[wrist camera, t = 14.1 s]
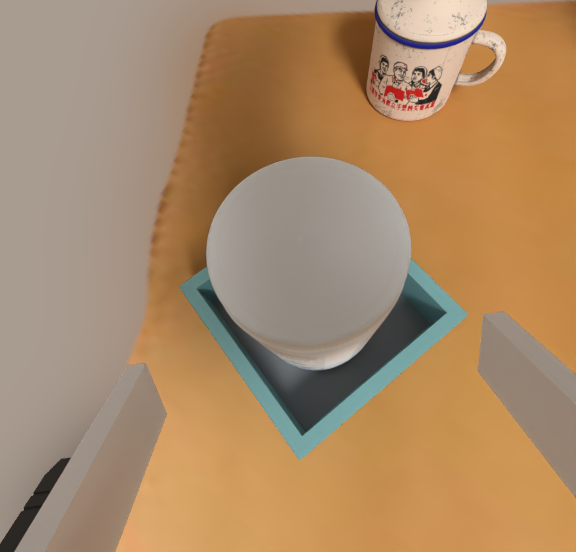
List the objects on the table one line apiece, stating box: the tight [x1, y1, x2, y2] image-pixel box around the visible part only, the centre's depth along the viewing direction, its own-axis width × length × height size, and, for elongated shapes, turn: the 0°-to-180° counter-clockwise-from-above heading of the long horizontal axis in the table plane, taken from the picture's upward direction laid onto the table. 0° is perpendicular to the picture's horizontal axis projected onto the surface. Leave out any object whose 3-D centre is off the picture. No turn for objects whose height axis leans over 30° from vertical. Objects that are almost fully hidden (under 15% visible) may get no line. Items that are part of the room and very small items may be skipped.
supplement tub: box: [206, 156, 411, 370], centre depth 22 cm, size 10×10×15 cm
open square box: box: [179, 259, 468, 460], centre depth 28 cm, size 15×15×5 cm
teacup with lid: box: [367, 0, 506, 121], centre depth 32 cm, size 12×9×12 cm
